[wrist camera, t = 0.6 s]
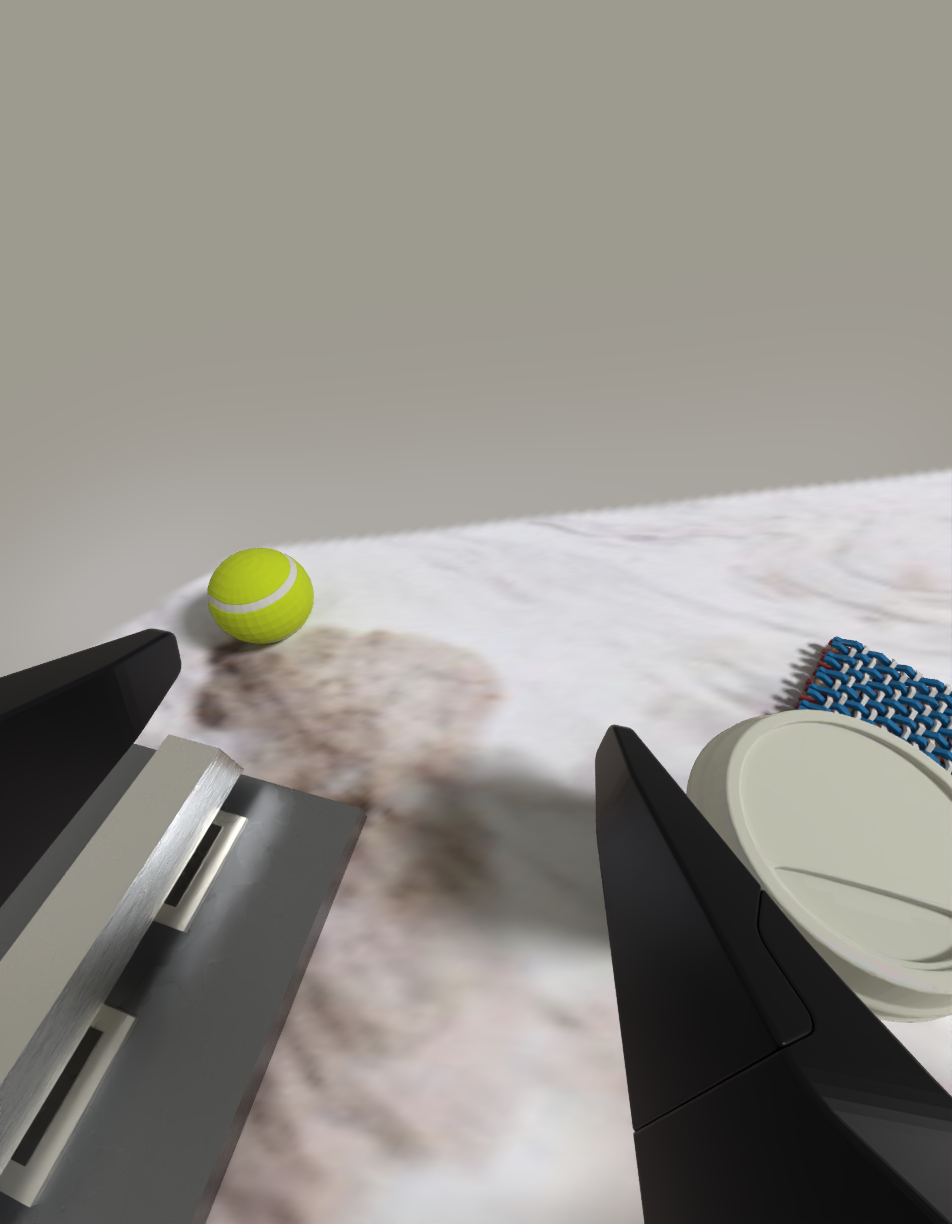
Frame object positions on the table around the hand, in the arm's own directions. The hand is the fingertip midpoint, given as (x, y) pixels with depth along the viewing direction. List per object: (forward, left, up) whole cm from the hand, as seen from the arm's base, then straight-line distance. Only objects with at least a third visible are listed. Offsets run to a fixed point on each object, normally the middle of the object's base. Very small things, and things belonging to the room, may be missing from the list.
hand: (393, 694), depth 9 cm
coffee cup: (+2, -13, -18) cm, 22 cm away
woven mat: (+13, -24, -19) cm, 33 cm away
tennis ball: (+12, +17, -18) cm, 28 cm away
